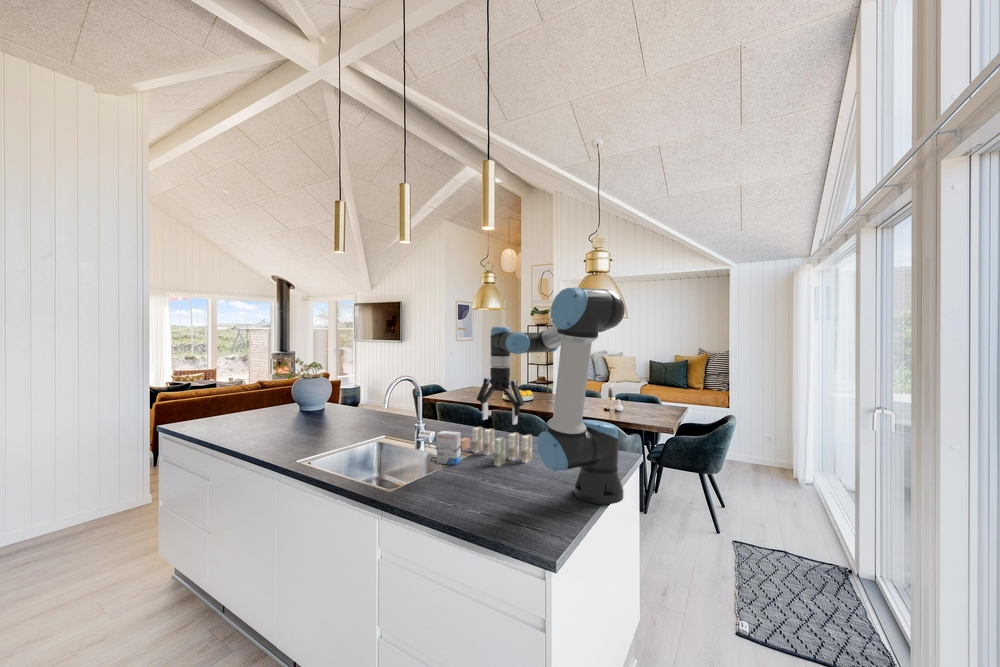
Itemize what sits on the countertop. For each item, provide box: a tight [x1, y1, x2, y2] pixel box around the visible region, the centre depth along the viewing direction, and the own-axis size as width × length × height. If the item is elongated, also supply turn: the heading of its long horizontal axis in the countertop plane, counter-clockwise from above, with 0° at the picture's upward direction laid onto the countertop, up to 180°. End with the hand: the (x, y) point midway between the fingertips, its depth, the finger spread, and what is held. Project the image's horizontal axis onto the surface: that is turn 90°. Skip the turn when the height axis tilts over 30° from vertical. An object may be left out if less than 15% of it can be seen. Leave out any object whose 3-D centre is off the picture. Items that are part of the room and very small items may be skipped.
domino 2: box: [483, 427, 495, 456], centre depth 173 cm, size 5×2×10 cm, turn 148°
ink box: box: [435, 430, 462, 466], centre depth 162 cm, size 9×5×12 cm, turn 73°
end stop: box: [461, 437, 471, 451], centre depth 181 cm, size 6×3×4 cm, turn 148°
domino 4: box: [508, 431, 520, 462], centre depth 167 cm, size 5×2×10 cm, turn 148°
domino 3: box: [493, 436, 506, 468], centre depth 160 cm, size 5×2×10 cm, turn 148°
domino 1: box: [471, 426, 484, 454], centre depth 177 cm, size 5×2×10 cm, turn 148°
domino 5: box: [521, 433, 533, 464], centre depth 164 cm, size 5×2×10 cm, turn 148°
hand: (499, 421), depth 160 cm, fingers open, 13 cm apart
